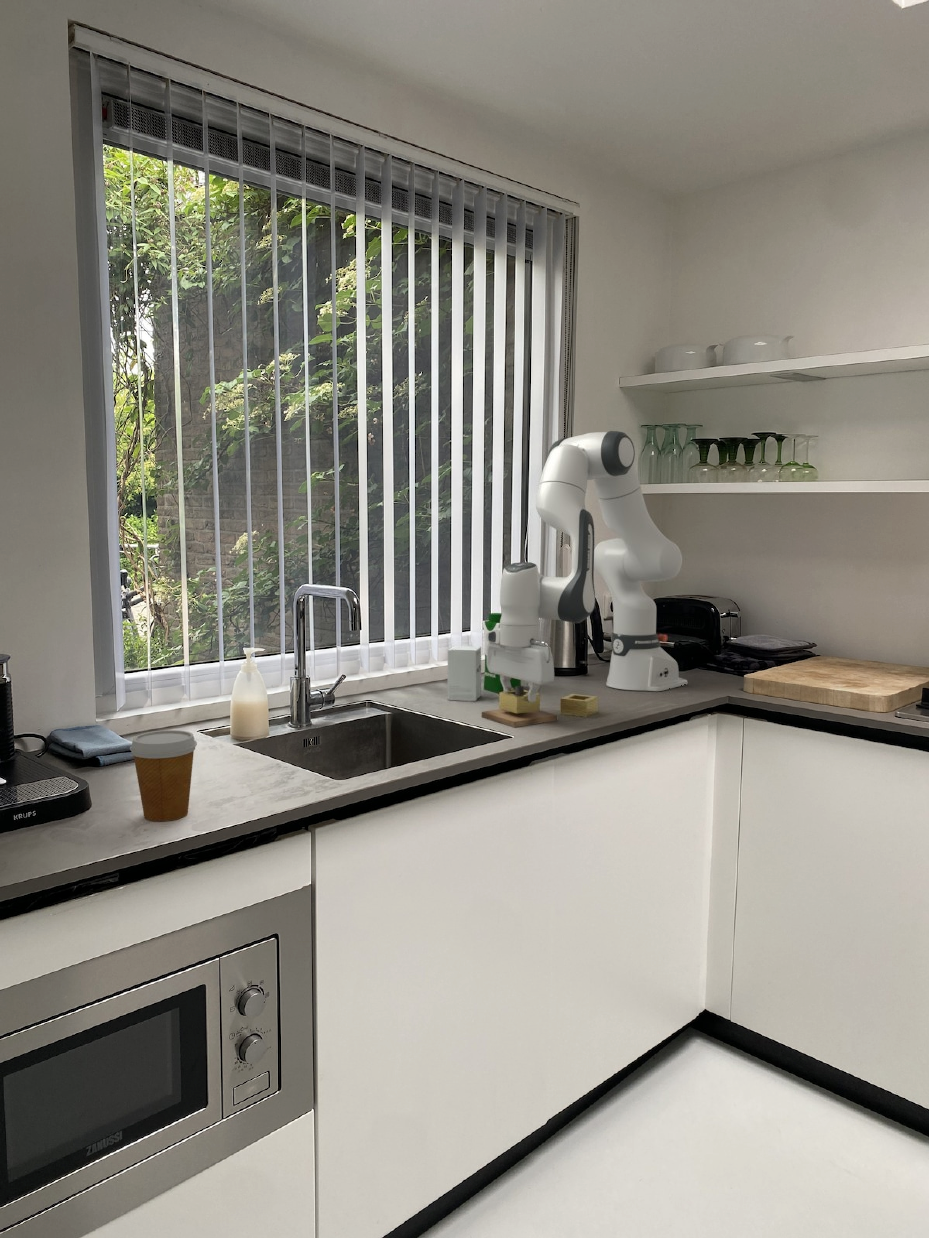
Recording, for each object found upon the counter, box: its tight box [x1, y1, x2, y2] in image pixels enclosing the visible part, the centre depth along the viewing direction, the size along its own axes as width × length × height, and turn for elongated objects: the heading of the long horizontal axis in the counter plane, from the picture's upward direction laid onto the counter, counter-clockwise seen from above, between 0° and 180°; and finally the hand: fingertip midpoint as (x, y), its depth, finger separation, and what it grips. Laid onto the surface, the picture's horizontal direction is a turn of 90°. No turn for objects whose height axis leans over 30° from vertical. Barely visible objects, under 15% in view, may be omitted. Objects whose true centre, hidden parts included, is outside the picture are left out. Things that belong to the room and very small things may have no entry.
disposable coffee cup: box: [129, 729, 198, 822], centre depth 136 cm, size 10×10×12 cm
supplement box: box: [446, 645, 482, 702], centre depth 224 cm, size 7×7×13 cm
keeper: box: [481, 685, 558, 728], centre depth 201 cm, size 12×12×7 cm
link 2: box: [560, 693, 599, 718], centre depth 207 cm, size 6×6×4 cm
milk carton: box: [481, 612, 522, 694], centre depth 234 cm, size 9×9×20 cm
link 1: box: [498, 689, 541, 714], centre depth 201 cm, size 6×6×4 cm
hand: (519, 698), depth 201 cm, fingers open, 7 cm apart
